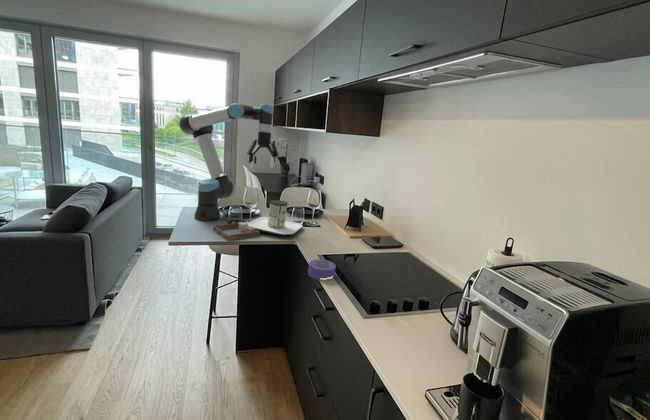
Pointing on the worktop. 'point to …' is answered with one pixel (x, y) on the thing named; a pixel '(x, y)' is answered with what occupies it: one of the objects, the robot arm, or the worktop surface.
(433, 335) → the worktop surface
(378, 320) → the worktop surface
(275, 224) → the coffee can
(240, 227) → the box
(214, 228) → the brown wooden frame
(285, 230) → the plate
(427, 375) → the worktop surface
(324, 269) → the tape roll
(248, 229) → the box
